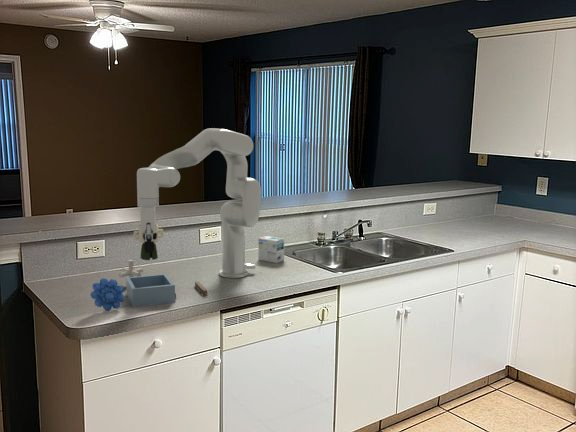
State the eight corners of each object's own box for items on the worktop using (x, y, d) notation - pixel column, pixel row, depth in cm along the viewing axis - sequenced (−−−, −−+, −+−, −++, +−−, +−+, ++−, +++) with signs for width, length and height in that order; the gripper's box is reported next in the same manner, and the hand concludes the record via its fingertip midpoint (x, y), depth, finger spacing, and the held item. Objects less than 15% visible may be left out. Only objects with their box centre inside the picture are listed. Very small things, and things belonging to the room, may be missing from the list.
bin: (166, 289, 226) (166, 273, 225) (175, 302, 212) (174, 285, 211) (126, 294, 220) (126, 277, 219) (132, 307, 206) (132, 289, 205)
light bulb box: (284, 260, 273) (284, 238, 271) (276, 263, 267) (277, 240, 265) (265, 256, 278) (266, 235, 276) (257, 259, 272) (258, 237, 270)
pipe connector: (134, 279, 238) (133, 255, 236) (149, 284, 232) (148, 260, 230) (113, 284, 231) (112, 260, 229) (128, 290, 225) (127, 265, 223)
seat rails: (199, 286, 231) (198, 281, 231) (207, 295, 221) (207, 290, 220) (165, 289, 226) (165, 284, 226) (171, 299, 215) (171, 294, 215)
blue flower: (93, 317, 196) (92, 283, 194) (89, 310, 202) (88, 277, 199) (128, 311, 201) (127, 278, 199) (123, 305, 207) (122, 273, 205)
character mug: (136, 263, 208) (135, 228, 205) (132, 258, 214) (131, 224, 211) (166, 260, 212) (165, 225, 210) (161, 255, 219) (160, 222, 216)
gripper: (137, 198, 216) (138, 244, 220) (137, 206, 200) (138, 256, 203) (158, 198, 218) (159, 243, 222) (159, 206, 202) (160, 255, 205)
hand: (149, 249), depth 212 cm, fingers closed on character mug, 7 cm apart
